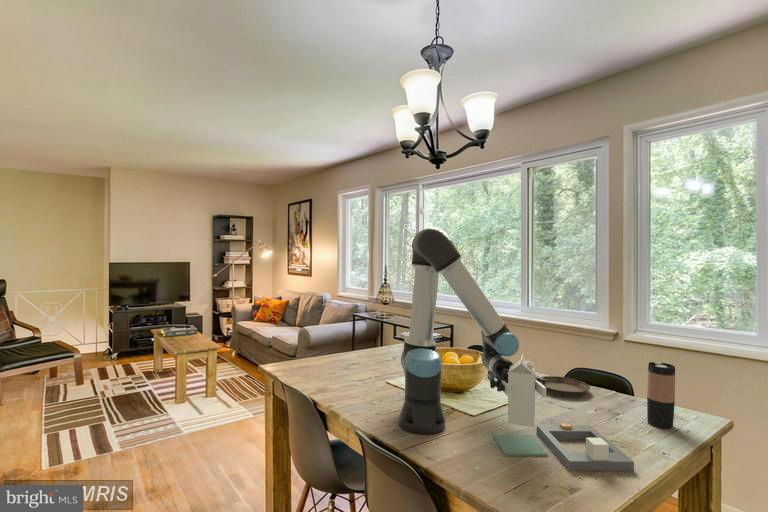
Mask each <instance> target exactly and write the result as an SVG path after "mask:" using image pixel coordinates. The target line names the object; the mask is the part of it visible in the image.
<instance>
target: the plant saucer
mask: <svg viewBox="0 0 768 512" xmlns="http://www.w3.org/2000/svg"><path fill="white" fill-rule="evenodd" d="M540 377H541V378H543V379H545V387H546V393H548V394H551V395H554V396H558V397H564V398H578V397H582V396H584V395H586V394H587V393H588V392H589V391H590V390H591V386H590V385H589V384H588V383H586V382H584V381H581V380H578V379H575V378H570V377H564V376H556V375H555V376H554V375H548V376H547V375H545V376H540Z"/></svg>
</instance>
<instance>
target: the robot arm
mask: <svg viewBox="0 0 768 512" xmlns="http://www.w3.org/2000/svg"><path fill="white" fill-rule="evenodd" d="M411 248H412V249H411V250H412V257H411V266H412V267H413V268H414V280H413V289H412V290H413V291H412V301H411V312H410V319H409V321H410V323H409V332H408V336H406V338H404V342H403V350H402V352H401V356H400V363H401V364H400V365H401V367H402V370H403V373H404V401H403V404H402V407H401V410H400V413H399V416H398V425H399V427H400V428H401V429H402V430H404V431H406V432H409V433H412V434H418V435H433V434H437V433H440V432H442V431H443V430H445V428H446V416H445V412H444V409H443V405H442V402H441V399H442V398H441V395H442V394H441V389H442V387H441V386H442V367H443V364H442V357H441V355H440V353H438V352H437V342H436V341H435V339H434V330H435V329H434V328H435V321H436V319H435V318H436V311H437V310H436V308H437V300H438V299H437V298H438V289H439V288H438V287H439V279H440V278H439V277H440V274H441V275H442V276H443V278H444V279H445V281H446V282H447V284H448V285H449V287H450V288H451V290H453V292H454V293H455V295H456V296H457V297H458V299H459V301H460V302H461V303H462V305H463V306H464V308H465V310H467V312H468V313H469V314H470V316H471V317H472V319H473V320H474V322H475V323H476V325H477V326H478V327H479V328H480V330H481V332H480V333H481V341H482V343H481V344H482V353H481V357H480V358H481V362H482V364H483V366H484V368H486V369H487V379H488V381H489V385H490V388H491V389H495V388H496V391H497V392H503V393H504V394H505V396H507V398H508V397H511V387H510V386H509V385H508V372H509V369H510V366H511V365H512V364H514V362H512V361H511V360H510V359H509V358H508V357H511V356H512V357H513V356H514V355H515V354H516V353H517V352H519V351H518V350H520V349H519V348H520V340H519V338H517V336H516V335H515V334H514V333H512V332H511V330H510V329H509V327H508V326H507V325H506V324H505V322H504V320H503V319H502V318H501V316H500V314H499V313H498V312H497V311H496V309H495V308H494V306H493V305H492V303H491V302H490V300H489V299H488V297H487V296H486V294H485V293H484V292H483V290H482V289H481V288H480V286H479V284H478V283H477V282H476V281H475V279H474V278H473V276H472V275H471V273H470V272H469V271H468V269H467V267H466V266H465V265H464V263H463V262H462V255H461V253H460V252H459V250H458V249H457V247H456V246H455V244H454V242H453V241H452V240H451V238H450V236H449V234H448V233H447V232H446V231H444V230H443V229H442V228H439V227H433V226H432V227H428V228H425V229H422V230H419V232H418V233H416V234H415V236H414V237H413V238H412V242H411ZM541 377H542V376H538V375H537V374H535V392H537V393H538V394H539V395H540V396H541V397H542V398H547V392H546V387H545V379H543V378H541ZM495 379H496V380H495Z"/></svg>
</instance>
